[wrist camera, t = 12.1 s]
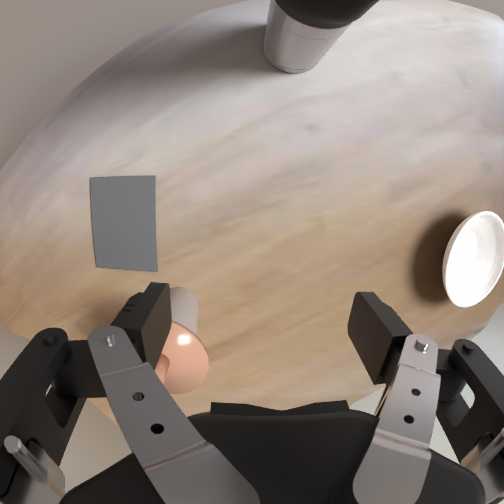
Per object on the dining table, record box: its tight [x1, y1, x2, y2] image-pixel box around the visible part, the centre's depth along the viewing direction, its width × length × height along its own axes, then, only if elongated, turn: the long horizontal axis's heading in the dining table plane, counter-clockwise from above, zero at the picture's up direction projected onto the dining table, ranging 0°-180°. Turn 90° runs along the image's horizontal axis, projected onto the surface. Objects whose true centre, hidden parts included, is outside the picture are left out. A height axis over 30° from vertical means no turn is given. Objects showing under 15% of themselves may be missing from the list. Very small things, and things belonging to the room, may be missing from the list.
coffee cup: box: [170, 287, 199, 335], centre depth 42 cm, size 10×10×15 cm
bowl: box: [442, 211, 504, 307], centre depth 44 cm, size 20×20×7 cm
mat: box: [90, 176, 158, 272], centre depth 44 cm, size 16×12×1 cm
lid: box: [155, 321, 209, 394], centre depth 31 cm, size 13×13×7 cm
